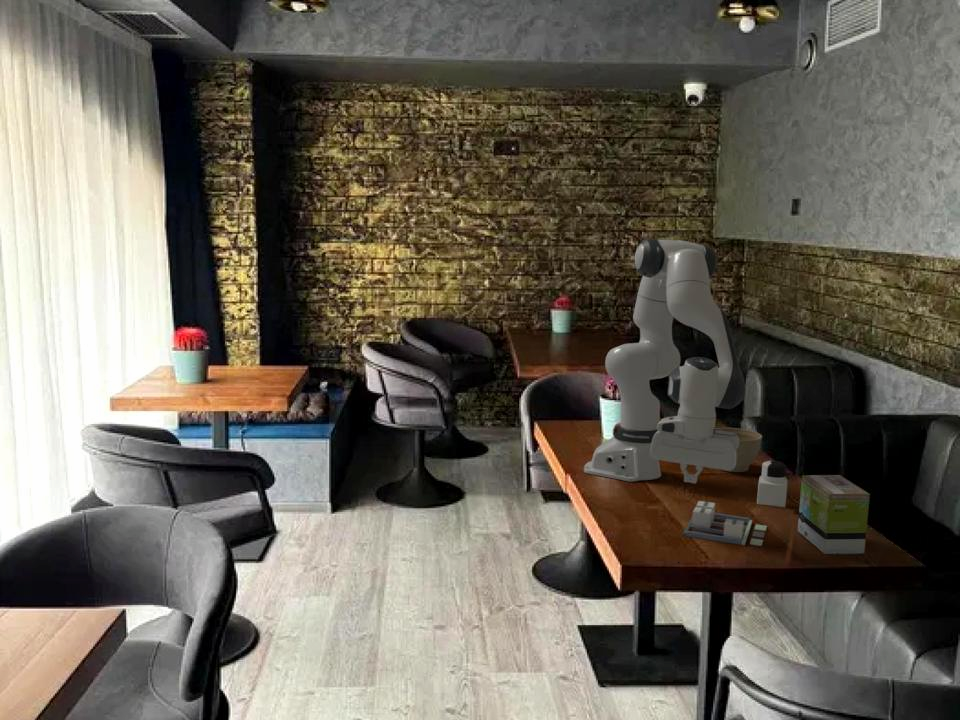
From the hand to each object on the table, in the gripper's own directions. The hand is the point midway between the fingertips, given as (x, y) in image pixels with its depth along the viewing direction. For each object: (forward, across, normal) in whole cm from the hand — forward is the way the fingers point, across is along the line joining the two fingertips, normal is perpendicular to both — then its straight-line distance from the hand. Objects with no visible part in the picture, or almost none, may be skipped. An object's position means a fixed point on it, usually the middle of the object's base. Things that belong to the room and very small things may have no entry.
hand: (690, 481), depth 222 cm
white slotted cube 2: (+10, -4, +1) cm, 11 cm away
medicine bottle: (+12, -18, -28) cm, 36 cm away
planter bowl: (+13, -3, -62) cm, 64 cm away
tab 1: (+10, -4, -5) cm, 12 cm away
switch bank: (+12, -8, +1) cm, 14 cm away
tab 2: (+10, -12, +6) cm, 17 cm away
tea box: (+11, -33, -6) cm, 35 cm away
